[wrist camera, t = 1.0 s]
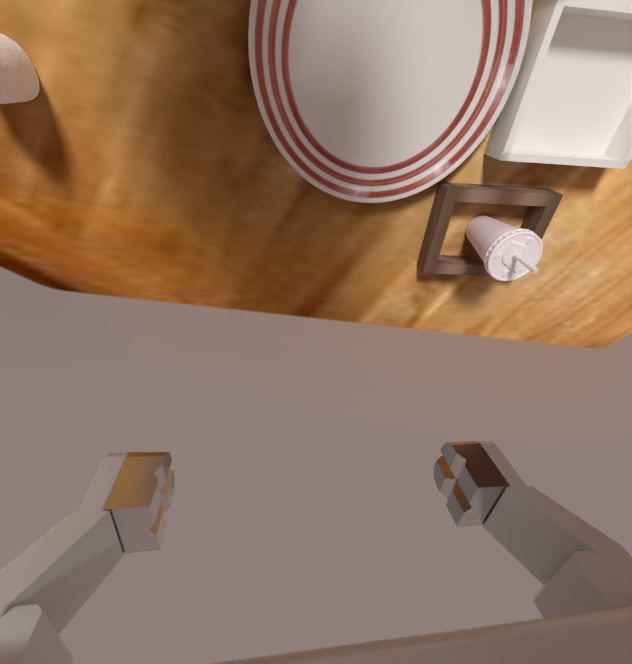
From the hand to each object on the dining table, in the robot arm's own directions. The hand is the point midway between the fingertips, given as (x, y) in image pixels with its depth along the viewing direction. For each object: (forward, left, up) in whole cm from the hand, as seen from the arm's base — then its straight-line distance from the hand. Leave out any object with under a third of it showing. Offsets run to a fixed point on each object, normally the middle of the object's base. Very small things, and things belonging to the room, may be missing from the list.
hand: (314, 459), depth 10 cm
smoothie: (+6, +26, -39) cm, 47 cm away
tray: (-10, +31, -39) cm, 51 cm away
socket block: (+6, +26, -39) cm, 47 cm away
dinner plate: (-11, +9, -40) cm, 42 cm away
